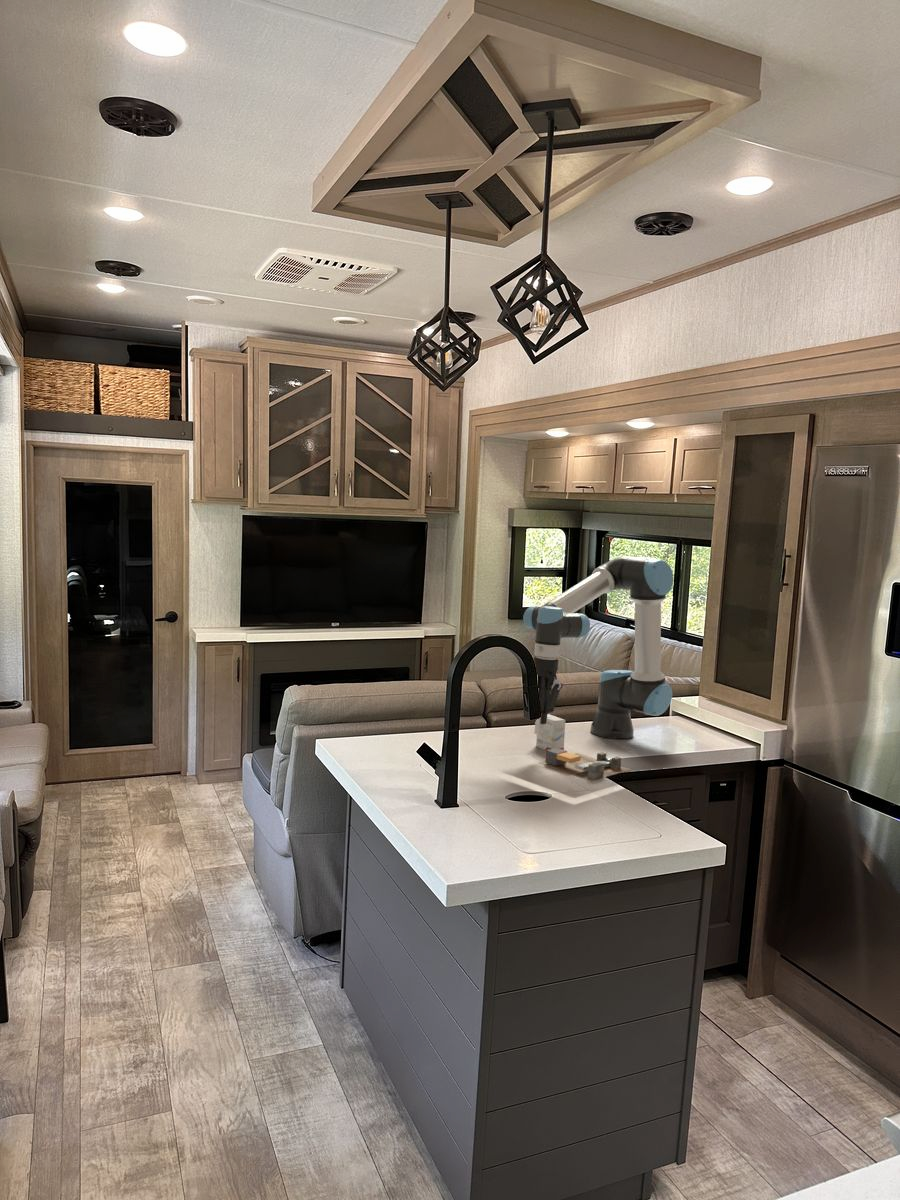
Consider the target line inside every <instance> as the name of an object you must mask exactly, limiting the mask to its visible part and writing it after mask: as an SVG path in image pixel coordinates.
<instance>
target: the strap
mask: <svg viewBox="0 0 900 1200" xmlns="http://www.w3.org/2000/svg"><path fill="white" fill-rule="evenodd" d="M597 762H600V763H604V767H609V766H611V765H612V758H611V759H610V758H607V757H606V758H604V759H603V761H596V762H590V763H583V764H576V765H575V768H576V769H579V770H582V771H585V770H588V766H589V765H590V764H593V763H597Z"/></svg>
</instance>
